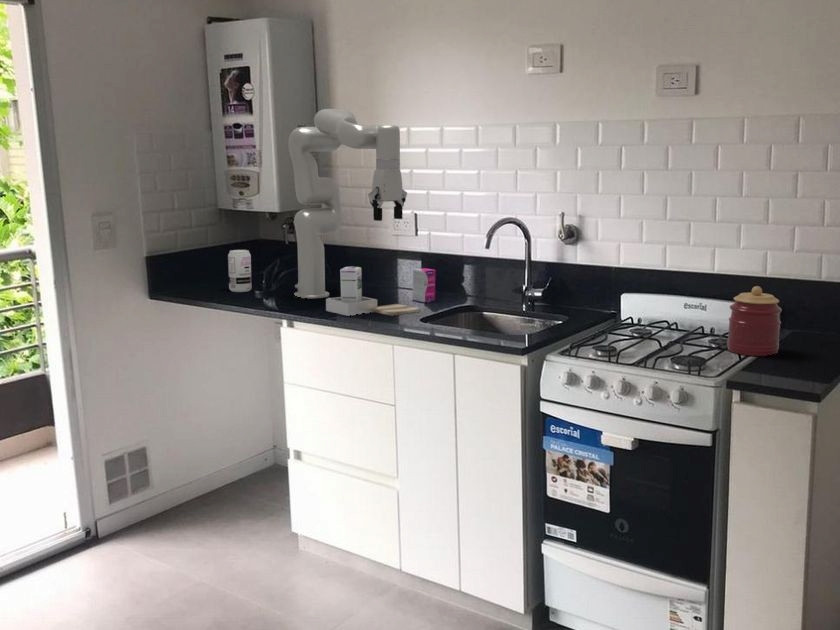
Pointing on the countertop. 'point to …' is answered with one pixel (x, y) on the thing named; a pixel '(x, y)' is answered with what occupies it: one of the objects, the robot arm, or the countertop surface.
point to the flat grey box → (351, 306)
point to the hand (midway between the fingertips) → (388, 219)
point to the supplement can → (239, 270)
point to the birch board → (396, 309)
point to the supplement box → (423, 285)
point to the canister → (754, 324)
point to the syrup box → (351, 284)
